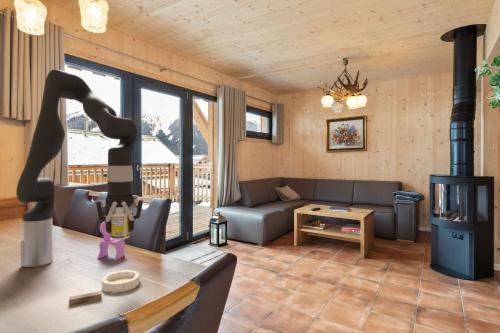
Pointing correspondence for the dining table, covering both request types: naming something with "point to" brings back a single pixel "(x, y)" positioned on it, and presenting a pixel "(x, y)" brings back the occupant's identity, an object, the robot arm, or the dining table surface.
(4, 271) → the dining table surface
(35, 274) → the dining table surface
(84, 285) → the dining table surface
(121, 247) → the toy chair
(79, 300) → the walnut stick
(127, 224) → the supplement bottle
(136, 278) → the jar dish
